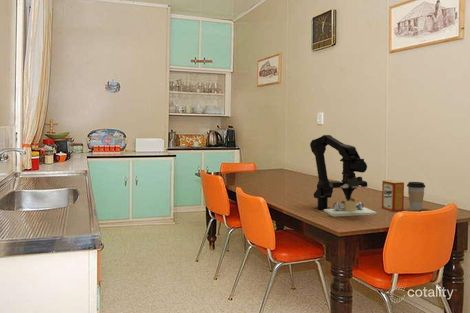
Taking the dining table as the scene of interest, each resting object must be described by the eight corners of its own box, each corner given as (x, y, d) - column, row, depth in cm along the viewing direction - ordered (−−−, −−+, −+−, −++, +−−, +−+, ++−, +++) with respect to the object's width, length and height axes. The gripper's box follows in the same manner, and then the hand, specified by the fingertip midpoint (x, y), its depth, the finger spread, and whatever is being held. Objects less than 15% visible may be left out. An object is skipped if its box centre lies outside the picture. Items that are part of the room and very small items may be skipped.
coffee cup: (428, 211, 221) (429, 183, 220) (412, 211, 220) (413, 184, 218) (418, 207, 230) (418, 181, 229) (402, 208, 229) (403, 181, 228)
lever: (344, 198, 221) (344, 194, 220) (350, 197, 221) (350, 194, 221) (353, 202, 209) (353, 198, 209) (359, 201, 210) (359, 198, 210)
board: (323, 211, 223) (323, 209, 223) (364, 209, 227) (364, 207, 227) (333, 216, 210) (333, 214, 210) (376, 214, 214) (376, 212, 214)
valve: (336, 211, 216) (336, 200, 215) (332, 209, 221) (332, 198, 221) (364, 210, 218) (364, 199, 218) (359, 208, 224) (360, 197, 223)
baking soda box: (381, 208, 229) (382, 180, 228) (391, 207, 232) (392, 179, 230) (393, 211, 221) (394, 182, 219) (403, 210, 223) (404, 181, 221)
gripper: (337, 173, 201) (337, 204, 202) (372, 172, 203) (372, 202, 205) (328, 170, 212) (328, 200, 213) (362, 169, 214) (362, 198, 216)
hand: (347, 200), depth 211 cm, fingers closed
